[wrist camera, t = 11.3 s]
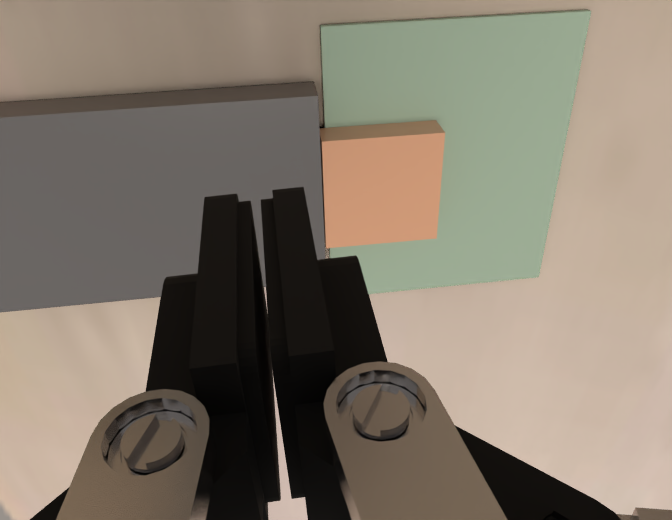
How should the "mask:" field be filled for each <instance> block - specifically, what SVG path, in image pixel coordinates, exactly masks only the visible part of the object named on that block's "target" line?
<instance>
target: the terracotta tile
mask: <svg viewBox="0 0 672 520" xmlns="http://www.w3.org/2000/svg"><path fill="white" fill-rule="evenodd" d="M444 142H445V132H444V130H443V129H442V128H441V126H440V125H439V124H438V122H437V121H436V120H430V121H416V122H402V123H388V124H374V125H360V126H346V127H331V128H320V151H321V173H322V195H323V217H324V239H325V246H326V248H336V247H347V246H358V245H369V244H381V243H392V242H403V241H414V240H425V239H437V228H438V216H439V204H440V191H441V179H442V166H443V154H444Z"/></svg>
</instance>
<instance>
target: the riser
mask: <svg viewBox="0 0 672 520" xmlns="http://www.w3.org/2000/svg"><path fill="white" fill-rule="evenodd" d="M295 187H304V191H305V197H306V202H307V207H308V213H309V218H310V223H311V229H312V234H313V239H314V245H315V250H316V255H317V260H320V259H325V239H324V217H323V195H322V173H321V151H320V128H319V106H318V94H317V91H316V88H315V85H314V82H301V83H285V84H270V85H255V86H240V87H225V88H210V89H195V90H180V91H165V92H150V93H135V94H120V95H104V96H89V97H74V98H59V99H44V100H29V101H14V102H0V312H9V311H19V310H30V309H40V308H50V307H61V306H71V305H81V304H92V303H102V302H113V301H123V300H133V299H144V298H154V297H161V294H162V288H163V283H164V279H165V278H166V277H169V276H178V275H187V274H196V273H198V263H199V252H200V240H201V229H202V218H203V206H204V198H205V197H208V196H218V195H227V194H237V195H238V199H239V202H241V201H251V205H252V211H253V218H254V225H255V232H256V239H257V246H258V252H259V259H260V266H261V273H262V280H263V287H266V277H265V261H264V245H263V230H262V214H261V199H270V198H273V193H272V190H276V189H286V188H295Z"/></svg>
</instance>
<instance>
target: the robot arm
mask: <svg viewBox="0 0 672 520" xmlns="http://www.w3.org/2000/svg"><path fill="white" fill-rule="evenodd" d="M272 193H273V198H270V199H261V214H262V230H263V245H264V261H265V277H266V292H267V307H266V300H265V294H264V287H263V280H262V273H261V266H260V259H259V252H258V246H257V239H256V232H255V225H254V218H253V211H252V205H251V201H241V202H239V199H238V195H237V194H227V195H218V196H208V197H205V198H204V206H203V218H202V229H201V240H200V252H199V263H198V273H196V274H187V275H178V276H169V277H166V278H165V279H164V283H163V288H162V294H161V300H160V306H159V312H158V319H157V325H156V331H155V337H154V343H153V349H152V356H151V362H150V368H149V374H148V380H147V387H146V392H144V393H141V394H138V395H135V396H133V397H130V398H128V399H126V400H125V401H123V402H122V403H120V404H118V405H117V406H115V407H114V408H112V409H111V410H110V411H109V412H108V413H107V414H106V415H105V416H104V417H103V418H102V419H101V420H100V422H99V423H98V425H97V427H96V428H95V430H94V432H93V433H92V435H91V437H90V439H89V442H88V444H87V447H86V449H85V451H84V454H83V456H82V459H81V461H80V463H79V466H78V468H77V471H76V473H75V475H74V478H73V480H72V483H71V485H70V487H69V488H68V489H67V490H65V491H64V492H63V493H62V494H60V495H59V496H58V497H57V498H56V499H54V500H53V501H52V502H51V503H50V504H48V505H47V506H46V507H45V508H43V509H42V510H41V511H40V512H39V513H37V514H36V515H35V516H34V517H33V518H31V519H30V520H268V502H273V501H280V499H281V496H280V479H279V464H278V449H277V434H276V418H275V403H274V388H273V377H274V383H275V390H276V397H277V403H278V410H279V417H280V423H281V430H282V437H283V443H284V450H285V457H286V463H287V470H288V477H289V483H290V490H291V496H292V499H294V498H301V497H305V499H306V507H307V515H308V520H672V510H662V509H648V508H635V510H634V512H633V514H632V515H621V514H616V513H614V512H613V511H611V510H610V509H609V508H607V507H606V506H604V505H603V504H601V503H600V502H598V501H597V500H595V499H593V498H591V497H589V496H587V495H586V494H584V493H582V492H580V491H578V490H576V489H574V488H572V487H570V486H568V485H567V484H565V483H563V482H561V481H559V480H557V479H555V478H553V477H551V476H550V475H548V474H546V473H544V472H542V471H540V470H538V469H536V468H534V467H532V466H531V465H529V464H527V463H525V462H523V461H521V460H519V459H517V458H515V457H514V456H512V455H510V454H508V453H506V452H504V451H502V450H500V449H498V448H497V447H495V446H493V445H491V444H489V443H487V442H485V441H483V440H481V439H479V438H478V437H476V436H474V435H472V434H470V433H468V432H466V431H464V430H462V429H461V428H459V427H457V426H455V425H454V424H453V422H452V420H451V418H450V416H449V415H448V413H447V411H446V409H445V407H444V406H443V404H442V402H441V400H440V399H439V397H438V395H437V393H436V391H435V390H434V388H433V387H432V386H431V385H430V383H429V382H428V381H427V380H426V378H425V377H423V376H422V375H420V374H419V373H417V372H416V371H414V370H413V369H411V368H408V367H405V366H403V365H400V364H397V363H390V362H387V358H386V355H385V351H384V347H383V344H382V340H381V337H380V333H379V330H378V326H377V323H376V319H375V316H374V312H373V309H372V305H371V301H370V298H369V294H368V291H367V287H366V284H365V280H364V277H363V273H362V270H361V266H360V263H359V260H358V257H357V256H356V255H355V256H346V257H337V258H328V259H320V260H317V255H316V250H315V245H314V239H313V234H312V229H311V223H310V218H309V213H308V207H307V202H306V197H305V191H304V187H295V188H286V189H276V190H272ZM267 308H268V314H267ZM272 369H273V373H272Z"/></svg>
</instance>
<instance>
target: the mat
mask: <svg viewBox="0 0 672 520" xmlns="http://www.w3.org/2000/svg"><path fill="white" fill-rule="evenodd" d="M590 15H591V11H590V10H571V11H554V12H537V13H519V14H502V15H485V16H467V17H450V18H433V19H415V20H398V21H381V22H364V23H346V24H329V25H320V34H321V59H322V84H323V109H324V128H331V127H346V126H360V125H374V124H388V123H402V122H416V121H430V120H436V121H437V122H438V124H439V125H440V126H441V128H442V129H443V130H444V132H445V142H444V154H443V166H442V179H441V191H440V204H439V216H438V228H437V239H425V240H414V241H403V242H392V243H381V244H369V245H358V246H347V247H336V248H329V257H330V258H337V257H346V256H355V255H356V256H357V257H358V260H359V263H360V266H361V270H362V273H363V277H364V280H365V284H366V287H367V291H368V294H374V293H384V292H395V291H405V290H415V289H425V288H435V287H445V286H455V285H465V284H475V283H485V282H495V281H505V280H515V279H526V278H536V277H539V273H540V268H541V263H542V258H543V253H544V248H545V243H546V238H547V233H548V228H549V222H550V217H551V212H552V207H553V202H554V197H555V192H556V187H557V182H558V177H559V172H560V167H561V162H562V157H563V152H564V147H565V142H566V136H567V131H568V126H569V121H570V116H571V111H572V106H573V101H574V96H575V91H576V86H577V81H578V76H579V71H580V66H581V61H582V56H583V50H584V45H585V40H586V35H587V30H588V25H589V20H590Z"/></svg>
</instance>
